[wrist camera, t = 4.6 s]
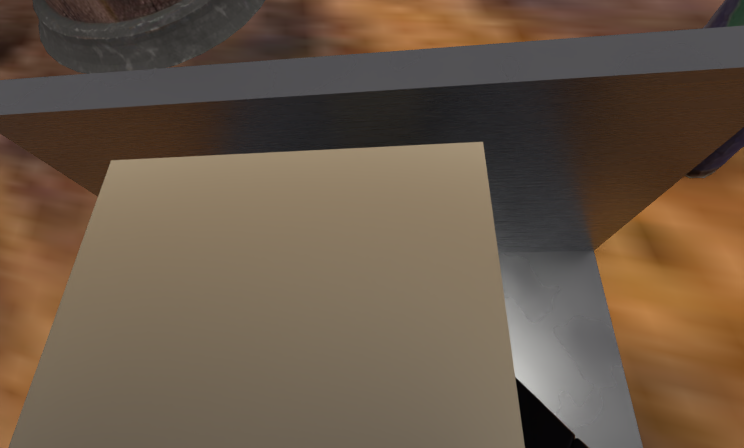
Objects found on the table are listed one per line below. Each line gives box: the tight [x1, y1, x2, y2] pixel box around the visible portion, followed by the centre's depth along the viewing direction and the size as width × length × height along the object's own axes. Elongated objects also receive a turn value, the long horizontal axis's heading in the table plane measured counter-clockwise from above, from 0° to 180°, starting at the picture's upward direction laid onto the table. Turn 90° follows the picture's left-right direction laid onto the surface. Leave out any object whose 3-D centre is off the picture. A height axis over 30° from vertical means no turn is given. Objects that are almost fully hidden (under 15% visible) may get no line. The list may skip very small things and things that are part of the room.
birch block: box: [9, 142, 525, 448], centre depth 8 cm, size 4×3×12 cm
